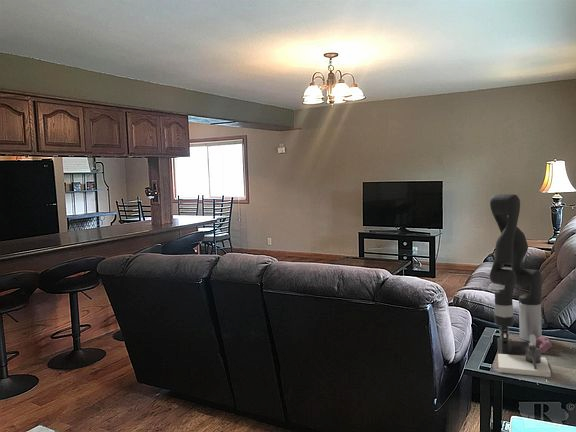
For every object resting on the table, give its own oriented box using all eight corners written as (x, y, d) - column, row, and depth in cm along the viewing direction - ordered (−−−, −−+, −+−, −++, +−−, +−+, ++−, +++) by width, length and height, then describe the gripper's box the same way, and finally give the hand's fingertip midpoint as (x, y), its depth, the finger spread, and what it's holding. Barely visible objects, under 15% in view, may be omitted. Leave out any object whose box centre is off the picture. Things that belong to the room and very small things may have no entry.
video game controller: (547, 357, 199) (555, 343, 198) (537, 352, 199) (544, 338, 198) (539, 349, 208) (547, 335, 207) (529, 344, 209) (537, 331, 208)
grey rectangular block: (497, 350, 206) (497, 337, 206) (528, 352, 201) (528, 339, 201) (498, 354, 201) (497, 341, 201) (529, 357, 196) (529, 343, 196)
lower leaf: (525, 357, 191) (524, 331, 190) (540, 359, 189) (539, 332, 188) (527, 368, 181) (526, 340, 180) (543, 369, 179) (542, 342, 178)
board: (497, 358, 197) (497, 353, 197) (545, 362, 190) (545, 357, 190) (499, 372, 183) (499, 367, 183) (550, 377, 176) (550, 372, 176)
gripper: (494, 308, 209) (495, 345, 210) (494, 318, 196) (495, 356, 197) (512, 309, 206) (513, 346, 208) (514, 319, 193) (515, 358, 194)
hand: (504, 351), depth 202 cm, fingers closed on grey rectangular block, 5 cm apart
